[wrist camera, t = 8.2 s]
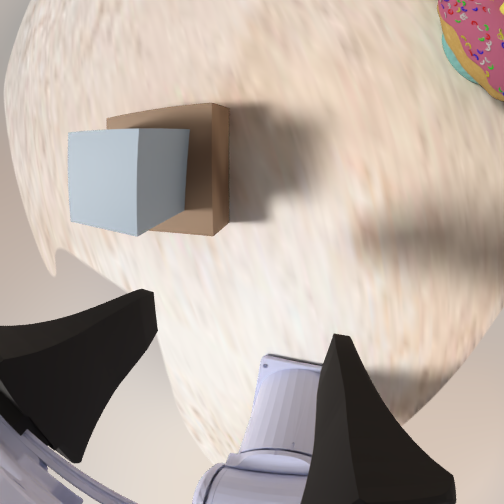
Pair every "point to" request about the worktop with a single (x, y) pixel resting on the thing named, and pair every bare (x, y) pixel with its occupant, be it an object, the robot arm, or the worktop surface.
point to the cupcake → (475, 41)
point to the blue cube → (127, 177)
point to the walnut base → (194, 163)
